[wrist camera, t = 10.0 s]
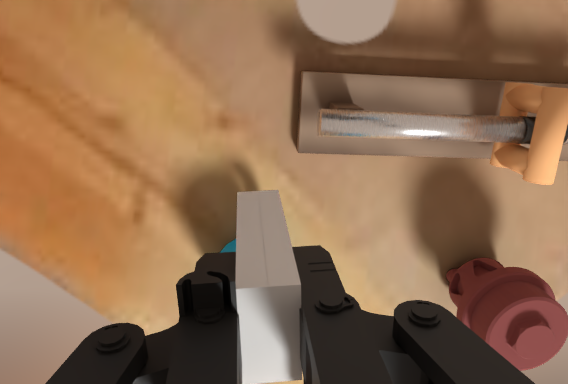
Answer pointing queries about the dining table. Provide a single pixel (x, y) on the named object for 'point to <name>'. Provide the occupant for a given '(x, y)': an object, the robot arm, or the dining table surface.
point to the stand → (399, 98)
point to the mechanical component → (509, 311)
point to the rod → (426, 126)
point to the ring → (534, 131)
